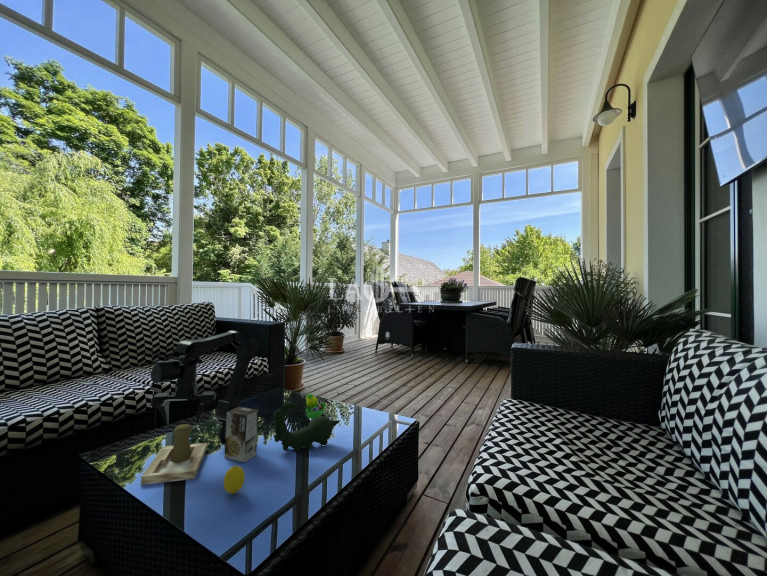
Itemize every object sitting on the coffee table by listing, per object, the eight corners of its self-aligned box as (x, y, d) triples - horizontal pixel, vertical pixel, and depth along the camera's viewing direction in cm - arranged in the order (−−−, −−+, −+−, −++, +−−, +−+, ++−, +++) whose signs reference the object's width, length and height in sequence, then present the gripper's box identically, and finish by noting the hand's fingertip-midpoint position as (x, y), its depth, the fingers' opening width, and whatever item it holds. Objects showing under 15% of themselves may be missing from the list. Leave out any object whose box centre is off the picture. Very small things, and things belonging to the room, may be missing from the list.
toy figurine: (275, 462, 116) (343, 446, 126) (274, 409, 116) (342, 397, 126) (273, 450, 125) (337, 436, 134) (272, 401, 125) (335, 391, 134)
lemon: (227, 488, 96) (229, 460, 97) (246, 488, 97) (248, 461, 97) (219, 499, 91) (221, 470, 91) (239, 499, 91) (241, 470, 91)
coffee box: (257, 455, 117) (260, 409, 118) (244, 463, 111) (247, 415, 111) (236, 450, 120) (240, 405, 121) (223, 457, 114) (226, 411, 114)
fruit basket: (320, 422, 151) (322, 397, 151) (301, 421, 151) (303, 396, 151) (325, 413, 162) (327, 390, 162) (308, 412, 162) (309, 389, 163)
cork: (181, 463, 108) (183, 429, 108) (165, 460, 109) (168, 427, 109) (195, 455, 114) (197, 423, 114) (180, 452, 115) (182, 421, 115)
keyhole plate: (206, 449, 119) (207, 442, 119) (194, 478, 100) (195, 470, 100) (162, 453, 115) (162, 446, 115) (140, 484, 96) (141, 476, 96)
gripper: (219, 372, 123) (216, 413, 122) (162, 372, 117) (158, 417, 116) (215, 379, 112) (211, 425, 112) (151, 380, 106) (147, 429, 106)
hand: (182, 423), depth 112 cm, fingers open, 9 cm apart
